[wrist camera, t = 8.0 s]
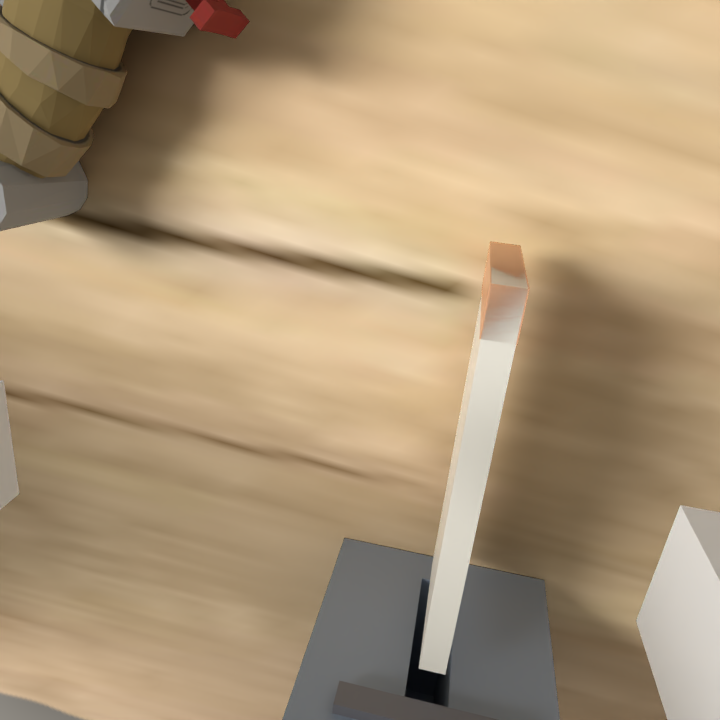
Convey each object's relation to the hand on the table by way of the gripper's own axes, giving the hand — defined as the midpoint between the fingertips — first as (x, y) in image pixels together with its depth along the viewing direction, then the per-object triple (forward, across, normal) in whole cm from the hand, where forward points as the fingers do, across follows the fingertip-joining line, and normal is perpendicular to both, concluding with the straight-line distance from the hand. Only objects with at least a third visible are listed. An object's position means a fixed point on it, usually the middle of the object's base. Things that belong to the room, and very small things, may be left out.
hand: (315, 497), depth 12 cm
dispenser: (+20, +4, -22) cm, 30 cm away
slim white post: (+18, +4, -7) cm, 19 cm away
